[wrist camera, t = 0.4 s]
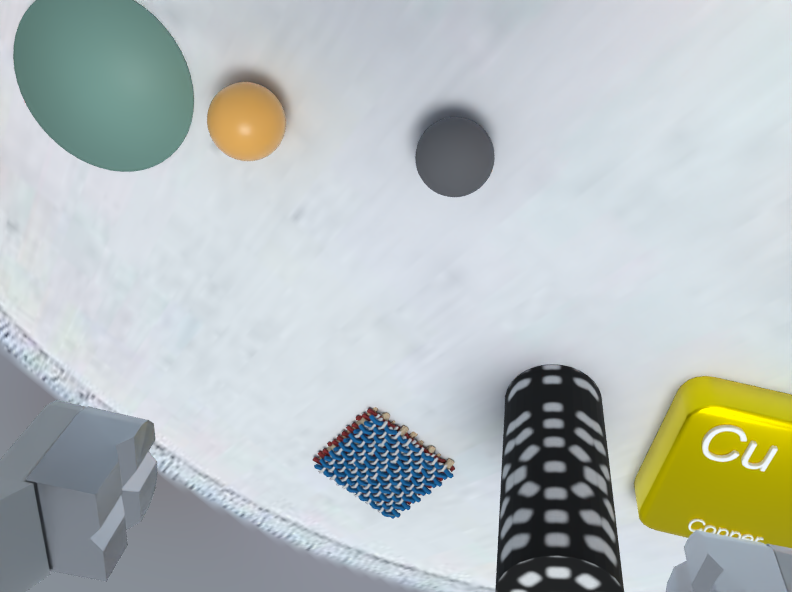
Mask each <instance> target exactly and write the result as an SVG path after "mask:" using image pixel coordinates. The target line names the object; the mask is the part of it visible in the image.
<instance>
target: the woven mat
mask: <svg viewBox="0 0 792 592" xmlns="http://www.w3.org/2000/svg"><path fill="white" fill-rule="evenodd" d="M377 410H378V408H376V407H375V408H373V409H370V408H369V409H368V410H367V412H368V413H364V414H363V415H362V416H357V417H356V420H358V421H357V422H356V423H355V422H354V423H353V424H352V427H350V426H347V427H346V428H347V429H348V430H347V431H346V432H345V431H343V432H342V436H340V435H339V436H338V437H337V440H335V439H334V440H333V441H332V442H328V443H327V444H328V446H329V447H328V448H327V449H325V448H324V449H323V451H322V452H321V451H320V452H319V453H318V455H319V456H320V457H319V458H317V457H314V458H313V461H315V462H316V463H318V464H316V465H314V467H315V468H316V469H319V470H320V471H318V472H319V473H324V475H325V476H327V477H331V478H330V480H334V481H335V482H337V484H336V485H337V486H339V485H343V487H342V488H343V489H345V488H346V489H347V491H349V492H352V493H356V494H355V495H354V496H355V497H357V496H358V497H359V499H360V500H362V501H367V502H365V503H366V504H370V505H371V506H372V508H374V509H378V510H377V511H378V512H379V513H382V515H384V516H386V517H391V518H395V516H396V517H400V513H398V512H397V511H396V510H395V509H397V510H402V511H404V510H405V509H407V510H409V509H410V506H409V505H410V504H411V502H412V503H415V502H416V501H417V502H420V501H421V499H420V498H419V497H418V496H417V495H416V494H418V495H423V496H424V495H425V494H426V493H427V494H430V493H431V490H429V489H428V488H431V487H433V488H435V487H436V486H439V487H440V486H441V485H442V482H440V481H442V480H443V479H444V480H445V479H447V477H449V478H452V477H453V474H452V473H450V472H449V470H448V469H450V471H451V472H452V471H453V470H454V469H455V468H454V467H453V464H454V461H453V460H451V459H448V460H447V461H446V460H445V459H441V458H439V457H440V456H441V454H440V453H439V454H436V455H434V454H433V453H434V451H435V447H433V446H428V447H427V448H426V449H425V448H424V447H423V443H424V442H423V441H417V442H416V440H414V439H413V438H415V437H416V436H417V435H418V434H416V433H415V432H412V433H411V434H410V435H408V433H407V431H408V430H409V429H408V428H407V427H405V426H404V425H403V427H402V428H400V427H399V426H396V425H394V424H395V421H392V422H391V423H390V422H389V421H387V420H388V419H389V417H390V415H389V414H388V413H383V414H382V415H381V416H380V414H377V413H376V412H377ZM367 427H368V428H367ZM392 429H393V430H392ZM370 438H371V439H370ZM359 447H361V448H359ZM404 447H405V448H404ZM335 451H336V452H335ZM380 453H381V454H380ZM327 455H328V456H329V457H328V456H327ZM417 455H418V456H417ZM390 460H391V461H390ZM437 462H438V463H437ZM405 464H406V465H405ZM417 464H419V465H417ZM332 472H333V473H332ZM403 477H406V478H403ZM350 478H352V479H350ZM362 486H363V487H362ZM427 487H428V488H427ZM387 488H388V489H387ZM397 494H398V495H397ZM375 503H376V504H375ZM398 504H399V505H398ZM407 504H409V505H407Z"/></svg>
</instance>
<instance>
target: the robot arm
mask: <svg viewBox="0 0 792 592" xmlns="http://www.w3.org/2000/svg"><path fill="white" fill-rule="evenodd" d="M154 441H155V432H154V423H152V422H150V421H149V420H145V419H141V418H136V417H132V416H128V415H123V414H119V413H114V412H110V411H106V410H101V409H97V408H93V407H85V406H81V405H76V404H72V403H68V402H63V401H59V400H56V401H54V402H52V403H50V404H48V405H46V406H45V407H44V409H43V410H42V411H41V412H40V413H39V415H38V416H37V417H36V418H35V419H34V420H33V422H32V423H31V424H30V425H29V426H28V427H27V428H26V430H25V431H24V432H23V433H22V434H21V435H20V437H19V438H18V439H17V440H16V441H15V443H14V444H13V445H12V446H11V447H10V448H9V450H8V451H7V452H6V453H5V454H4V455H3V456H2V458H1V459H0V592H26V591H27V590H29V589H30V588H32V587H33V586H35V585H36V584H37V583H39V582H40V581H42V580H43V579H45V578H46V577H47V576H49V575H50V571H53V572H59V573H64V574H69V575H74V576H79V577H86V578H90V579H96V580H101V581H107V580H108V578H109V576H110V575H111V573H112V571H113V570H114V568H115V566H116V564H117V563H118V561H119V559H120V558H121V556H122V554H123V552H124V551H125V549H126V547H127V545H128V544H127V532H126V530H127V529H129V528H131V527H132V526H134V525H136V524H138V523H139V522H141V521H142V519H143V517H144V515H145V513H146V511H147V510H148V508H149V506H150V503H151V500H152V497H153V494H154V491H155V487H156V480H157V461H156V460H155V458H154V457H153V456H152V455H151V453H150V452H149V449H150V448H151V446H152V444H153V443H154ZM684 550H685V555H686V560H687V561H685V562H683V563H681V564H679V565H677V566H675V567H674V568H673V571H672V573H671V575H670V578H669V580H668V582H667V588H666V592H792V548H788V547H782V546H777V545H772V544H764V543H761V542H756V541H751V540H746V539H740V538H735V537H730V536H725V535H719V534H714V533H709V532H704V531H699V530H696V531H695V532H693V533H692V534H691V535H690V536H689V538H688V540H687V542H686V544H685V546H684Z"/></svg>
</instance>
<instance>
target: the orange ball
mask: <svg viewBox="0 0 792 592" xmlns="http://www.w3.org/2000/svg"><path fill="white" fill-rule="evenodd" d="M207 125H208V130H209V133H210V136H211V138H212V140H213V142H214V143H215V145H216V146H217V147H218V148H219V149H220V150H221V151H222V152H223V153H225V154H226V155H228V156H230V157H232V158H234V159H237V160H241V161H255V160H259V159H262V158H264V157H266V156H268V155H270V154H271V153H272V152H273V151H275V150H276V149H277V147H278V146H279V145H280V143H281V141H282V139H283V137H284V133H285V129H286V118H285V113H284V109H283V107H282V105H281V103H280V101H279V100H278V98H277V97H276V96H275V95H274V94H273V93H272V92H271V91H270V90H268V89H267V88H265V87H263V86H261V85H259V84H256V83H252V82H238V83H234V84H231V85H229V86H227V87H225V88H223V89H222V90H221V91H220V92H219V93H218V94H217V95H216V96H215V97H214V99H213V100H212V102H211V104H210V107H209V110H208V115H207Z"/></svg>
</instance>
